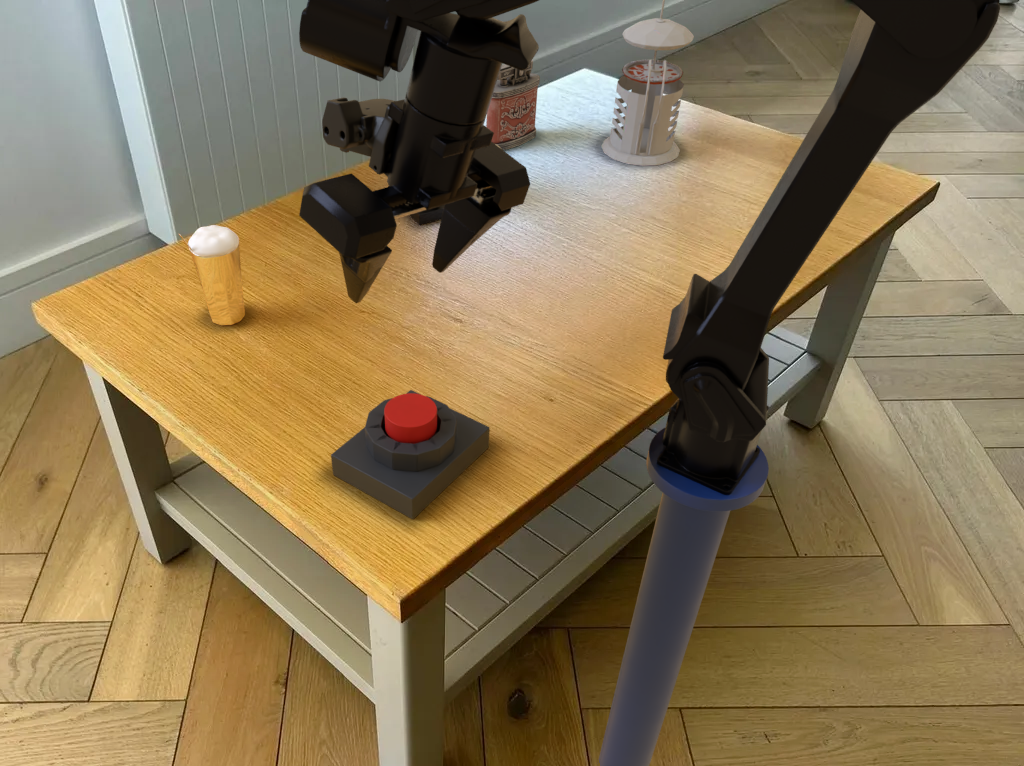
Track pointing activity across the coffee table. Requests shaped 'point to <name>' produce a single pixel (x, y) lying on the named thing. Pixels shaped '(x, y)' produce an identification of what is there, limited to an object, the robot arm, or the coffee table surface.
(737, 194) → the coffee table surface
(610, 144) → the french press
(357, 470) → the control block
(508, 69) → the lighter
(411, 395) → the button
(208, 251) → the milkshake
